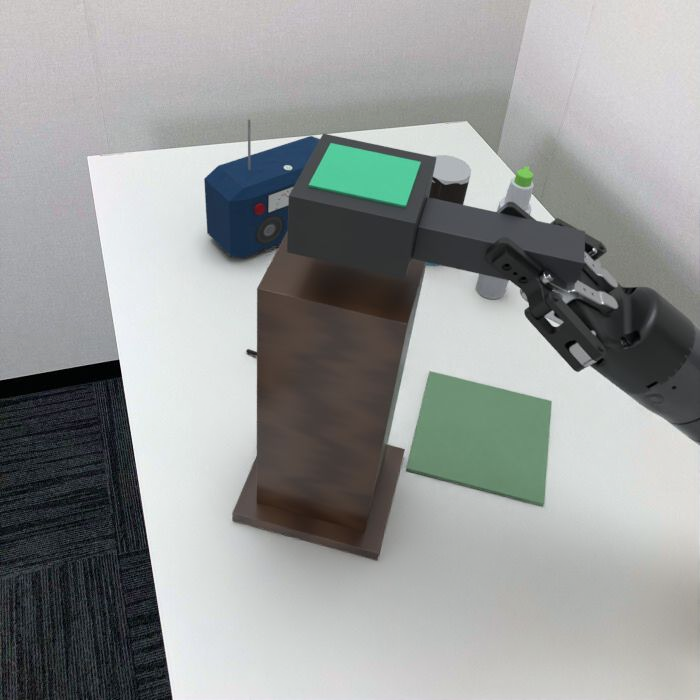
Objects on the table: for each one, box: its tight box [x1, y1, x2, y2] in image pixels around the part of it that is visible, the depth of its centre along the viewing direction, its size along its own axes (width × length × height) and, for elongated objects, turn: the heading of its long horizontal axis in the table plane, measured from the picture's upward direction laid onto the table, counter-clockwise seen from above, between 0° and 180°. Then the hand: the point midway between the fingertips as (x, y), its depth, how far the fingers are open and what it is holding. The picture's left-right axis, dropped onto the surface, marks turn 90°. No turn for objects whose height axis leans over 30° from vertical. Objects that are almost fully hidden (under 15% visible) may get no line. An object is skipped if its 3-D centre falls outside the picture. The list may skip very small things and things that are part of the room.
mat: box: [405, 370, 553, 507], centre depth 90 cm, size 16×16×1 cm
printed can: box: [426, 154, 472, 267], centre depth 109 cm, size 7×7×15 cm
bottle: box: [475, 165, 534, 300], centre depth 102 cm, size 4×4×20 cm
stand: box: [231, 231, 427, 561], centre depth 71 cm, size 16×14×32 cm
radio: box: [203, 118, 320, 259], centre depth 107 cm, size 21×9×20 cm, turn 129°
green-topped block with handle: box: [287, 133, 586, 282], centre depth 54 cm, size 21×9×5 cm, turn 76°
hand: (497, 229), depth 54 cm, fingers closed on green-topped block with handle, 4 cm apart
